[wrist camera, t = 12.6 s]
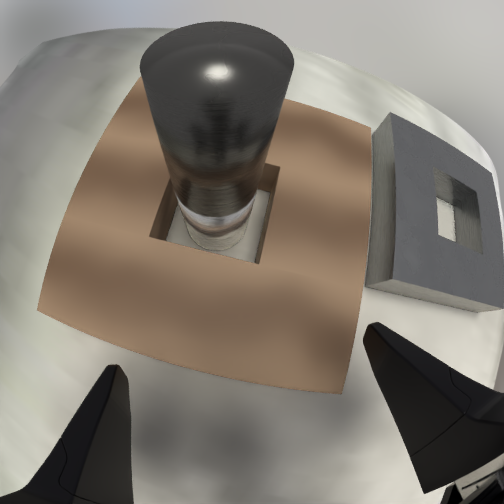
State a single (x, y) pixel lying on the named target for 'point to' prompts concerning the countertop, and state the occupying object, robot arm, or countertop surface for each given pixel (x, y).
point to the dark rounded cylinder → (216, 119)
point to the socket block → (433, 221)
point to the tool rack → (221, 256)
